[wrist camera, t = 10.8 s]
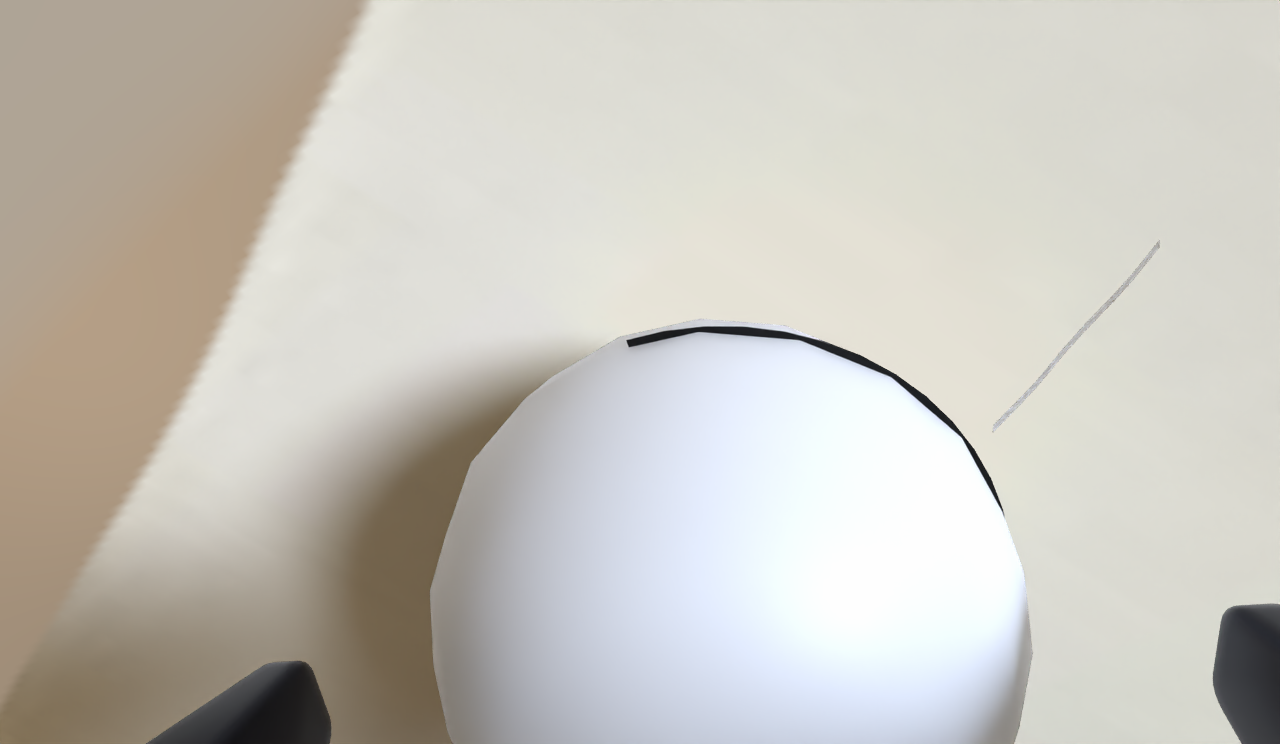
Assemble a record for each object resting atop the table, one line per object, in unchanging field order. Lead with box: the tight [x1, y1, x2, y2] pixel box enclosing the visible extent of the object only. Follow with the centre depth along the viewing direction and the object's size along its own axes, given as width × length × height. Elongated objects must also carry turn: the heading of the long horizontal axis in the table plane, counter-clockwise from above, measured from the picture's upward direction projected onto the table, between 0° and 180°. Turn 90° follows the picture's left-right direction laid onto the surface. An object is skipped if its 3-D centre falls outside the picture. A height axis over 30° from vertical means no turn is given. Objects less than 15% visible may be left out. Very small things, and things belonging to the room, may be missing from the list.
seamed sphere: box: [430, 240, 1160, 744], centre depth 9 cm, size 10×7×7 cm
